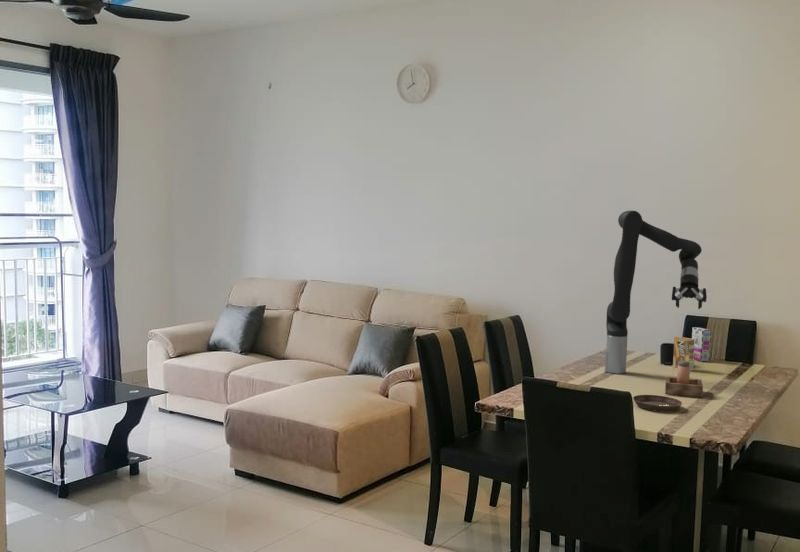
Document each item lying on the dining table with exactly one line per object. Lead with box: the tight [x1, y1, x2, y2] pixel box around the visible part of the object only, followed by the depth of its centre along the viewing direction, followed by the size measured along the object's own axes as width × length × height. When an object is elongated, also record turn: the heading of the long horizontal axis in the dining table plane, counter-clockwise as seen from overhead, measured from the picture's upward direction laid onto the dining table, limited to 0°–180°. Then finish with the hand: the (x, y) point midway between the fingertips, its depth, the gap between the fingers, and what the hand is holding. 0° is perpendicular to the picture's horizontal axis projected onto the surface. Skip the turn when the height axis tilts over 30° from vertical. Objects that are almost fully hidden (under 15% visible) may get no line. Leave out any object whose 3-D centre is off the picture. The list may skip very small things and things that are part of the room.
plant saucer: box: [632, 394, 683, 412], centre depth 287 cm, size 18×18×3 cm
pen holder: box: [659, 342, 674, 366], centre depth 376 cm, size 9×9×10 cm
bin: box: [664, 376, 704, 399], centre depth 313 cm, size 14×14×5 cm
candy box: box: [672, 336, 695, 372], centre depth 364 cm, size 9×4×15 cm, turn 33°
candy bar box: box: [691, 327, 712, 363], centre depth 391 cm, size 11×5×16 cm, turn 6°
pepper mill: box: [676, 361, 691, 384], centre depth 312 cm, size 5×5×12 cm
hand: (688, 307), depth 328 cm, fingers open, 8 cm apart
